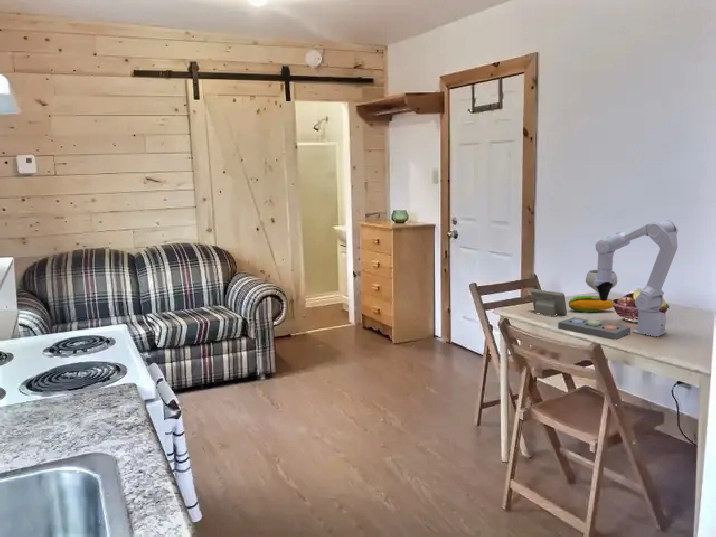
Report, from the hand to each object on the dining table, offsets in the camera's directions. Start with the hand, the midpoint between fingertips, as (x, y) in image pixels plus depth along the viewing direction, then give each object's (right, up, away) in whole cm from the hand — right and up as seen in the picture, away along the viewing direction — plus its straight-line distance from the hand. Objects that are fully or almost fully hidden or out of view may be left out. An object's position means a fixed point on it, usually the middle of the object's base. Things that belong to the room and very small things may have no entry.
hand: (603, 300), depth 259 cm
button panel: (-8, -12, -11) cm, 18 cm away
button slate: (-13, -10, -6) cm, 18 cm away
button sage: (-8, -10, -11) cm, 17 cm away
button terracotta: (-4, -12, -16) cm, 21 cm away
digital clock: (-17, -7, +19) cm, 27 cm away
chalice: (+13, -3, +38) cm, 40 cm away
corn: (+3, -6, +21) cm, 22 cm away
